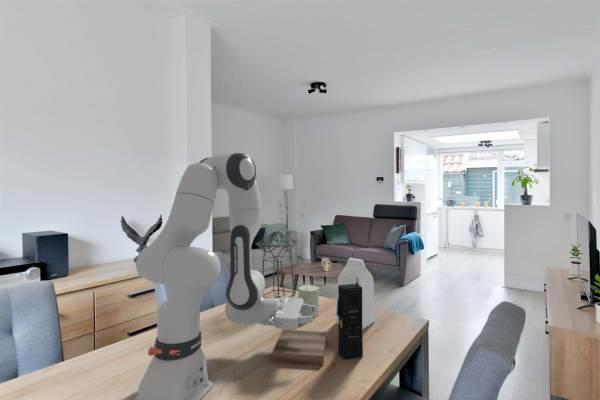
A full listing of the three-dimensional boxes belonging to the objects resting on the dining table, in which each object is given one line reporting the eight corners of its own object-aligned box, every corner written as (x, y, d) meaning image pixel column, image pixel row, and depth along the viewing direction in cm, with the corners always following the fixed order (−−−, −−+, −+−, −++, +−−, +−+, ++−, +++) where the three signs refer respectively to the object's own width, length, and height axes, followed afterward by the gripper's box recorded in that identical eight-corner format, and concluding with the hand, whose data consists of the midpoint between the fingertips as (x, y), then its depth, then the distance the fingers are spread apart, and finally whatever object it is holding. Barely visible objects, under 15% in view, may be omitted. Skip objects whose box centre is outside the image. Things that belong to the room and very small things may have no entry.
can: (295, 316, 148) (295, 288, 147) (301, 309, 156) (301, 283, 156) (316, 319, 145) (316, 290, 145) (321, 311, 154) (321, 284, 153)
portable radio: (341, 360, 110) (341, 282, 109) (334, 351, 116) (334, 277, 115) (363, 357, 112) (364, 280, 111) (356, 349, 118) (356, 276, 117)
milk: (375, 321, 142) (375, 258, 141) (361, 330, 133) (361, 263, 132) (350, 315, 149) (350, 255, 149) (335, 323, 141) (335, 259, 140)
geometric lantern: (283, 312, 153) (281, 233, 152) (255, 307, 161) (253, 232, 160) (301, 302, 166) (299, 229, 165) (275, 297, 174) (273, 228, 173)
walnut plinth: (323, 365, 107) (323, 355, 107) (272, 362, 109) (272, 352, 109) (326, 340, 125) (326, 331, 125) (282, 337, 127) (282, 329, 127)
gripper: (266, 313, 106) (311, 315, 105) (279, 293, 127) (316, 295, 125) (266, 334, 106) (311, 336, 105) (279, 310, 127) (316, 312, 125)
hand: (314, 313), depth 115 cm, fingers open, 8 cm apart
